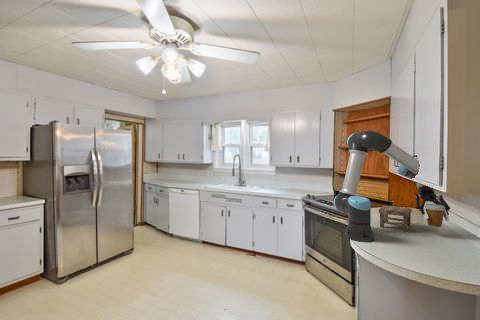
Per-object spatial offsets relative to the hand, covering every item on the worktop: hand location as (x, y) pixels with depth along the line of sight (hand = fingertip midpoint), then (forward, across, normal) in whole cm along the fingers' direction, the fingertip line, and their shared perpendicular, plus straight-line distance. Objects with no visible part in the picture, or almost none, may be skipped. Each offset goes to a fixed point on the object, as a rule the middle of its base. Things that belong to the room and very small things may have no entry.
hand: (437, 219), depth 136 cm
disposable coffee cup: (+1, 0, -6) cm, 6 cm away
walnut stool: (-5, +16, -20) cm, 26 cm away
